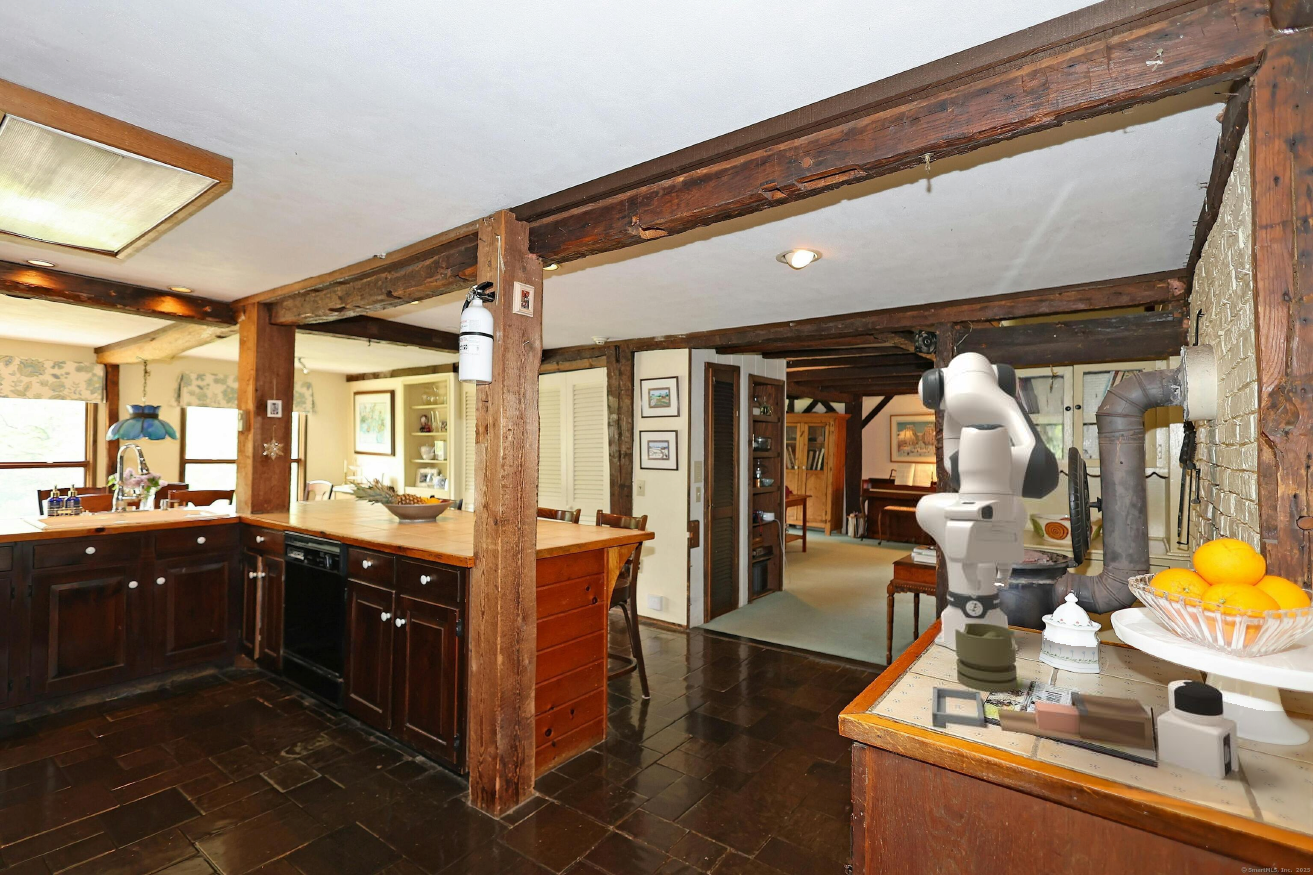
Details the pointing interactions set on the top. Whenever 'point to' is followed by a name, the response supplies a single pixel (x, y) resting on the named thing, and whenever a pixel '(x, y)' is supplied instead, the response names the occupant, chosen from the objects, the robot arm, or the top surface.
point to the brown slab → (1093, 722)
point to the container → (1197, 730)
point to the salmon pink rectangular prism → (1057, 717)
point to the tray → (942, 717)
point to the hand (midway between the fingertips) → (988, 589)
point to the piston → (986, 657)
